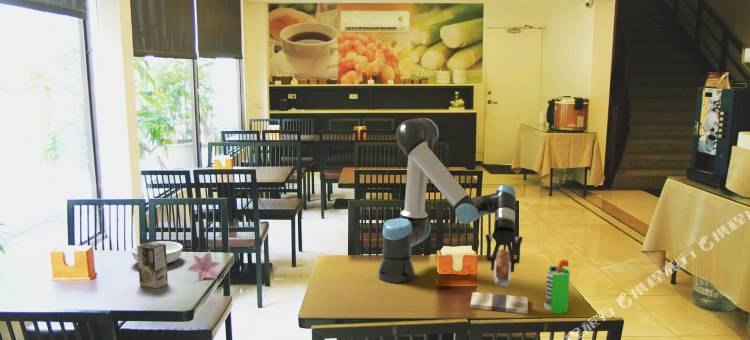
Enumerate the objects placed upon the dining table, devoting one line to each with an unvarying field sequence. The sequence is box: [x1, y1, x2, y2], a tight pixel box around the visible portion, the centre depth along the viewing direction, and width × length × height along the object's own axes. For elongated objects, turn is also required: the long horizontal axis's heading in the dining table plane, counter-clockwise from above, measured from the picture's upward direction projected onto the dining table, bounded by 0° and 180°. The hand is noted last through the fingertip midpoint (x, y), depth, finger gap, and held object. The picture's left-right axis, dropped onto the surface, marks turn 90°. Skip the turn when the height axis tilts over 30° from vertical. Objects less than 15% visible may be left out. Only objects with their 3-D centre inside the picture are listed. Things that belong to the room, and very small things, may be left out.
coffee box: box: [136, 241, 169, 289], centre depth 225 cm, size 9×6×16 cm
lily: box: [187, 250, 220, 282], centre depth 235 cm, size 12×12×10 cm
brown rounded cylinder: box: [494, 248, 510, 288], centre depth 207 cm, size 5×5×13 cm
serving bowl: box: [131, 240, 184, 264], centre depth 252 cm, size 21×21×7 cm
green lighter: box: [544, 259, 570, 314], centre depth 205 cm, size 9×8×18 cm
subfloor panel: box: [469, 291, 529, 315], centre depth 210 cm, size 20×12×2 cm, turn 77°
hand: (502, 279), depth 204 cm, fingers closed on brown rounded cylinder, 4 cm apart
